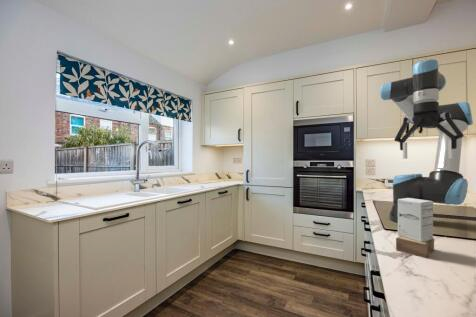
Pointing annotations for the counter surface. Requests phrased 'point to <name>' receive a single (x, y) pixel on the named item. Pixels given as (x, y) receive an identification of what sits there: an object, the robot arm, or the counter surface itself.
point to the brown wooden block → (415, 246)
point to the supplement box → (415, 219)
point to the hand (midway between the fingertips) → (426, 158)
